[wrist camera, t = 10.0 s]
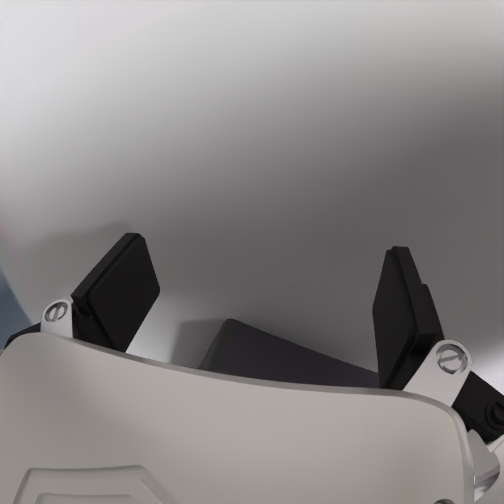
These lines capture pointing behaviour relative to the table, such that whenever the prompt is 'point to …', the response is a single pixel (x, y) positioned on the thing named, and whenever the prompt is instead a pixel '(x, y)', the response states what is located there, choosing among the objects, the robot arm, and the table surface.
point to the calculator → (278, 360)
